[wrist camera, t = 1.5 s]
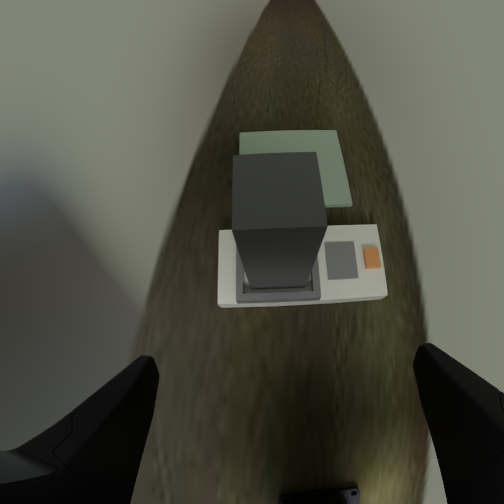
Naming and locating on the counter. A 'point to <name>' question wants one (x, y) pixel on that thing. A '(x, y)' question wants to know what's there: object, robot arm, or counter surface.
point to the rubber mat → (307, 141)
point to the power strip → (312, 272)
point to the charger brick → (278, 217)
